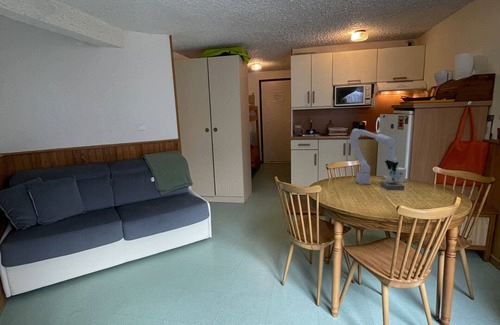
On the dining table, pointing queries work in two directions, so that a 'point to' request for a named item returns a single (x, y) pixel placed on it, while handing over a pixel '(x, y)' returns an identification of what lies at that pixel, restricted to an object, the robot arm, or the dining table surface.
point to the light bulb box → (398, 174)
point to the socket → (392, 185)
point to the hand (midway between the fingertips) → (391, 170)
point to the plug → (387, 178)
